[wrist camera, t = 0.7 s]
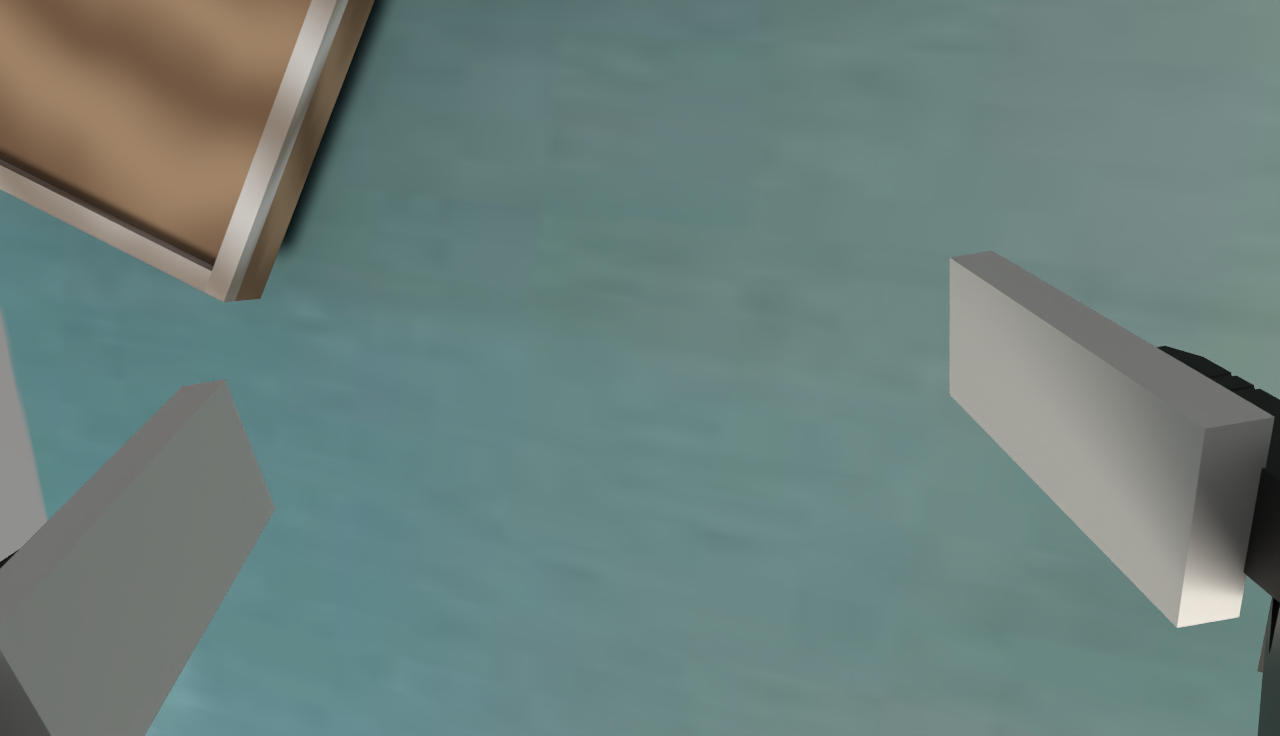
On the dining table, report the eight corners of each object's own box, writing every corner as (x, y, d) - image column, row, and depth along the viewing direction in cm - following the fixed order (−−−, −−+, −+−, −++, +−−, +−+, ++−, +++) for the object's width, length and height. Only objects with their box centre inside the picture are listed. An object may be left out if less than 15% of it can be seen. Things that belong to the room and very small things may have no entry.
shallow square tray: (111, -177, 41) (7, -247, 35) (421, -31, 40) (366, -79, 34) (8, 151, 44) (-103, 137, 38) (294, 295, 43) (223, 302, 37)
